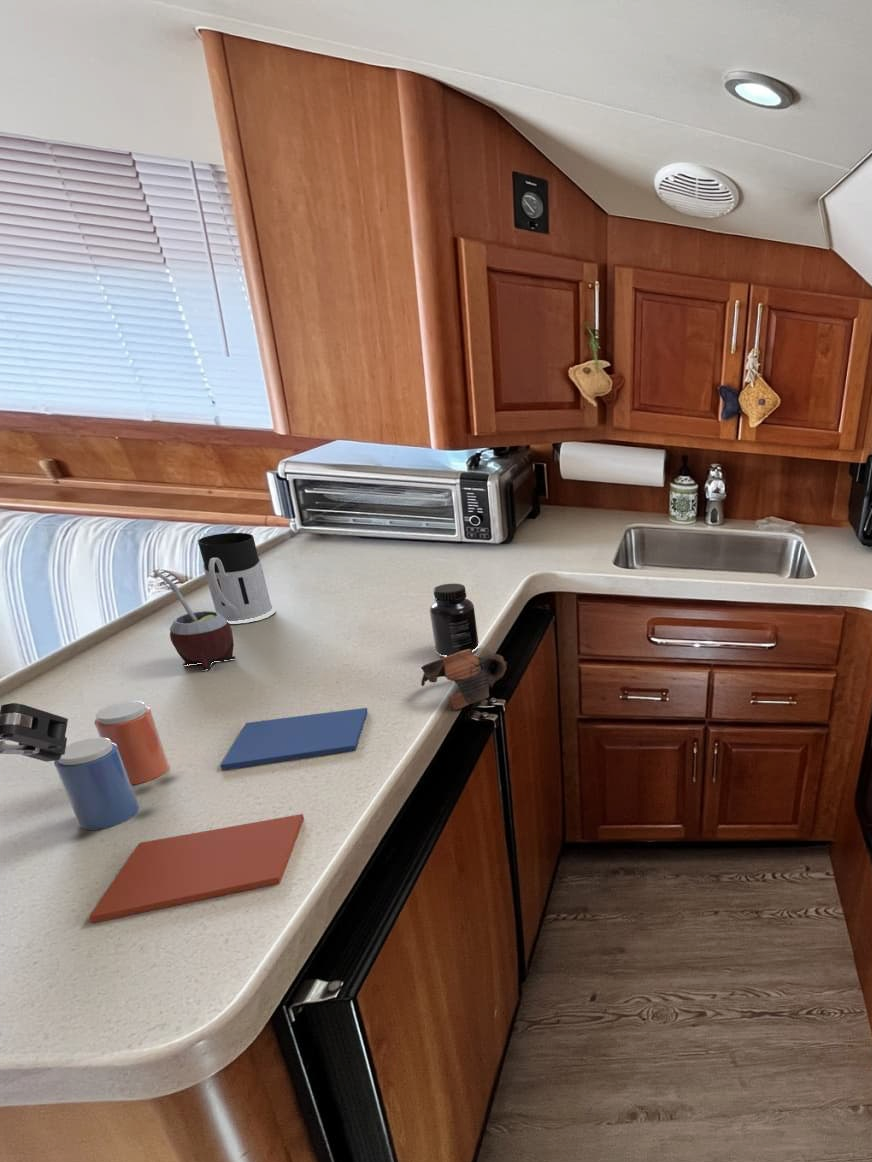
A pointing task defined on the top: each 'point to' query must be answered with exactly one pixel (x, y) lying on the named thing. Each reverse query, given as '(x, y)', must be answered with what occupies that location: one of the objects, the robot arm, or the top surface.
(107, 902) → the terracotta mat
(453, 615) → the supplement bottle
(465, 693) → the pottery mug
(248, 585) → the grey coffee mug
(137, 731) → the cylinder
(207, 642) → the mate gourd
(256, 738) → the blue mat
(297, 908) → the top surface
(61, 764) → the cylinder
